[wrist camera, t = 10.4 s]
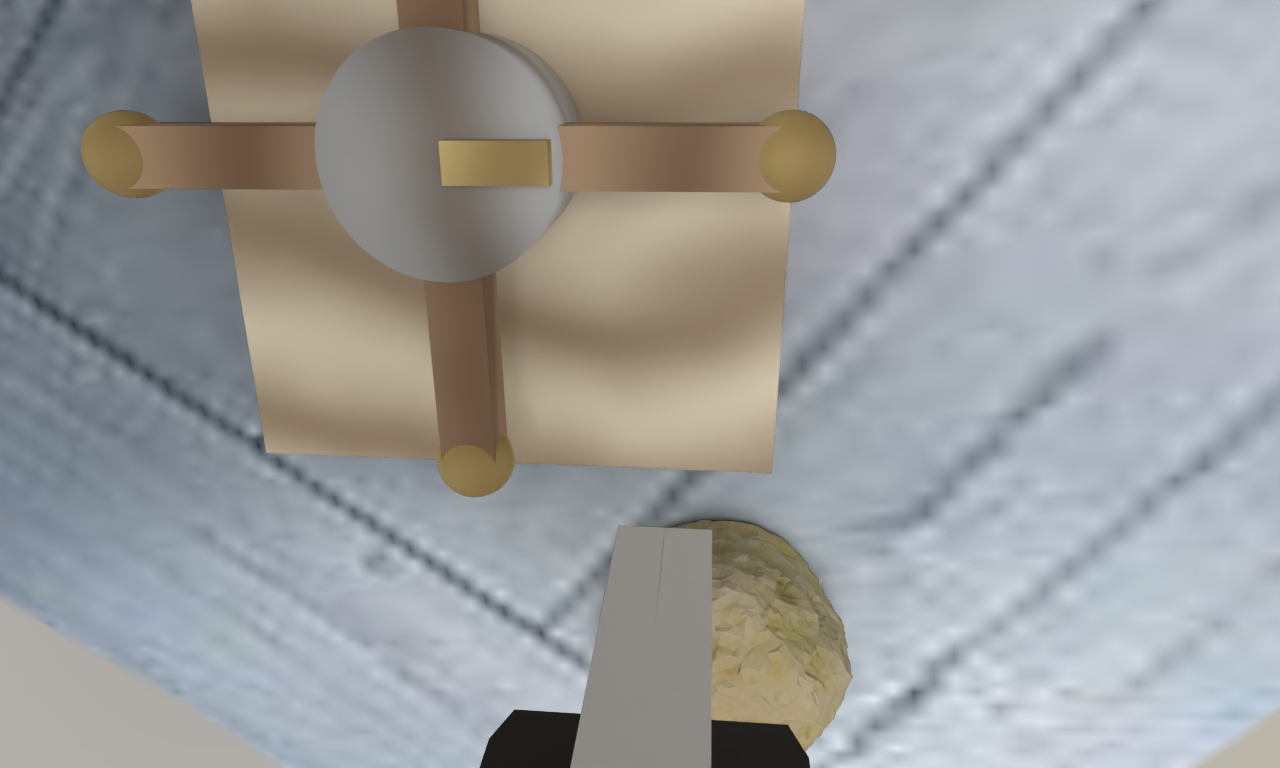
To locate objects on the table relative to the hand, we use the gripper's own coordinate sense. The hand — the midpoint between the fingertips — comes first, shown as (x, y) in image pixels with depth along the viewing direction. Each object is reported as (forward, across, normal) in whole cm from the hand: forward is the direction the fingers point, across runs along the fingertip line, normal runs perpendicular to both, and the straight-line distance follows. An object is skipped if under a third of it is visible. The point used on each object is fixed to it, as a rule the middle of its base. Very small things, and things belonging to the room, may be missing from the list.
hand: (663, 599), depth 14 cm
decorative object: (+19, +2, -14) cm, 24 cm away
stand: (+19, -7, +7) cm, 22 cm away
